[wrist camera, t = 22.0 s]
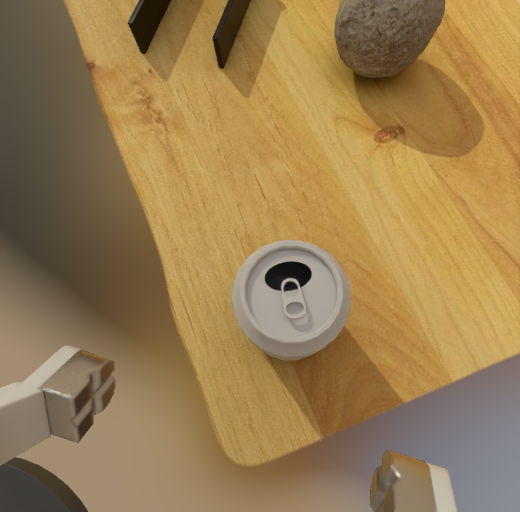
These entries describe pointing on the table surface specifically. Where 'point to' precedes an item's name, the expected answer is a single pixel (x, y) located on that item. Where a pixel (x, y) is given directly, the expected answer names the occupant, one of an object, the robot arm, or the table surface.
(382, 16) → the decorative stone
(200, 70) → the table surface
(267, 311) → the can
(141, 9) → the frame
